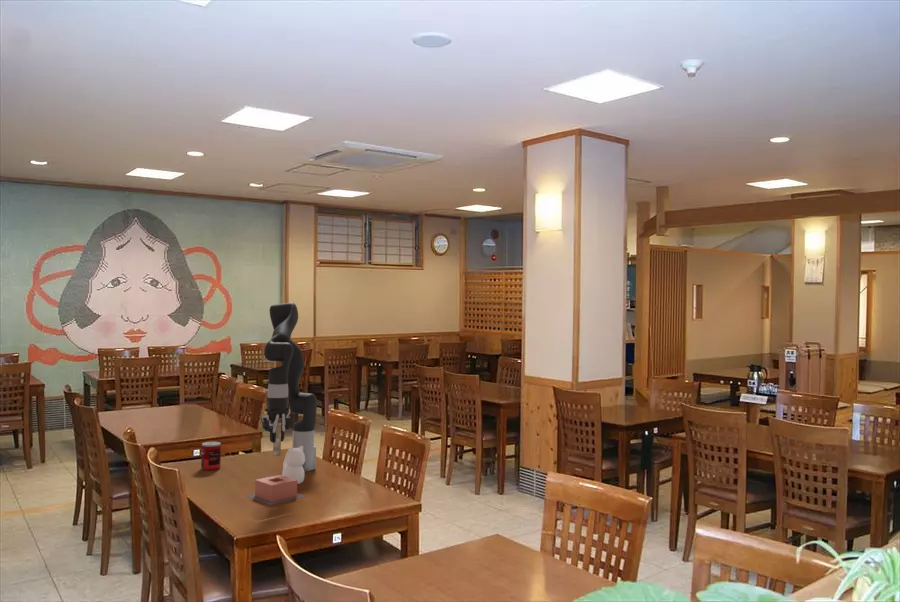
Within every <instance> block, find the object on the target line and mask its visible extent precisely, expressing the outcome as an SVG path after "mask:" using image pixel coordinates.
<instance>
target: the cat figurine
mask: <svg viewBox="0 0 900 602" xmlns="http://www.w3.org/2000/svg"><path fill="white" fill-rule="evenodd" d="M284 457H285V458H284V460H283V463H282V472H281V475H283V476H286V477H289V478H292V479H295V480H297V485H299V484H302V483H303V482H304V481H305V472H304V469H303V467H302V465H303V464H304V462H305V455H304V452H303V446H300V447H298V448H293V447H289V448H288V450H287V452H286V454H285V456H284Z"/></svg>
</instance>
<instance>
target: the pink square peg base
mask: <svg viewBox="0 0 900 602" xmlns="http://www.w3.org/2000/svg"><path fill="white" fill-rule="evenodd" d="M254 484H255V485H254V494H255V496H257V497H260V498H262V499H265V500H267V501H270V502H274V501H278V500H282V499H287V498H291V497H295V496H297V493H298V484H297V480H295V479H292V478H289V477H286V476H283V475H282V474H277V475H271V476H267V477H262V478H258V479H255V481H254Z"/></svg>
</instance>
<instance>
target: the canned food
mask: <svg viewBox="0 0 900 602" xmlns="http://www.w3.org/2000/svg"><path fill="white" fill-rule="evenodd" d="M221 453H222V444H221V442H219V441H205V442H202V443H201V462H200V463H201V464H200V465H201V470H203V471H207V472H208V471H217V470H219V469H220V468H221V460H222V459H221V456H222V454H221Z"/></svg>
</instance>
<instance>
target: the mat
mask: <svg viewBox="0 0 900 602" xmlns="http://www.w3.org/2000/svg"><path fill="white" fill-rule="evenodd" d="M246 497H247V498H250V499H253V500H256V501H258V502H260V503H264V504H266V505H269V506H271V505H276V504H279V503H280V504H281V503H283V502H287V501H292V500H293V501H294V500H298V499H301V498H306V497H307V495H304V494H302V493H298V492H297V496H295V497H291V498H287V499H282V500H278V501H274V502H270V501H267V500H265V499H262V498H260V497H257V496H255V493H251V494H248V495H246Z"/></svg>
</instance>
